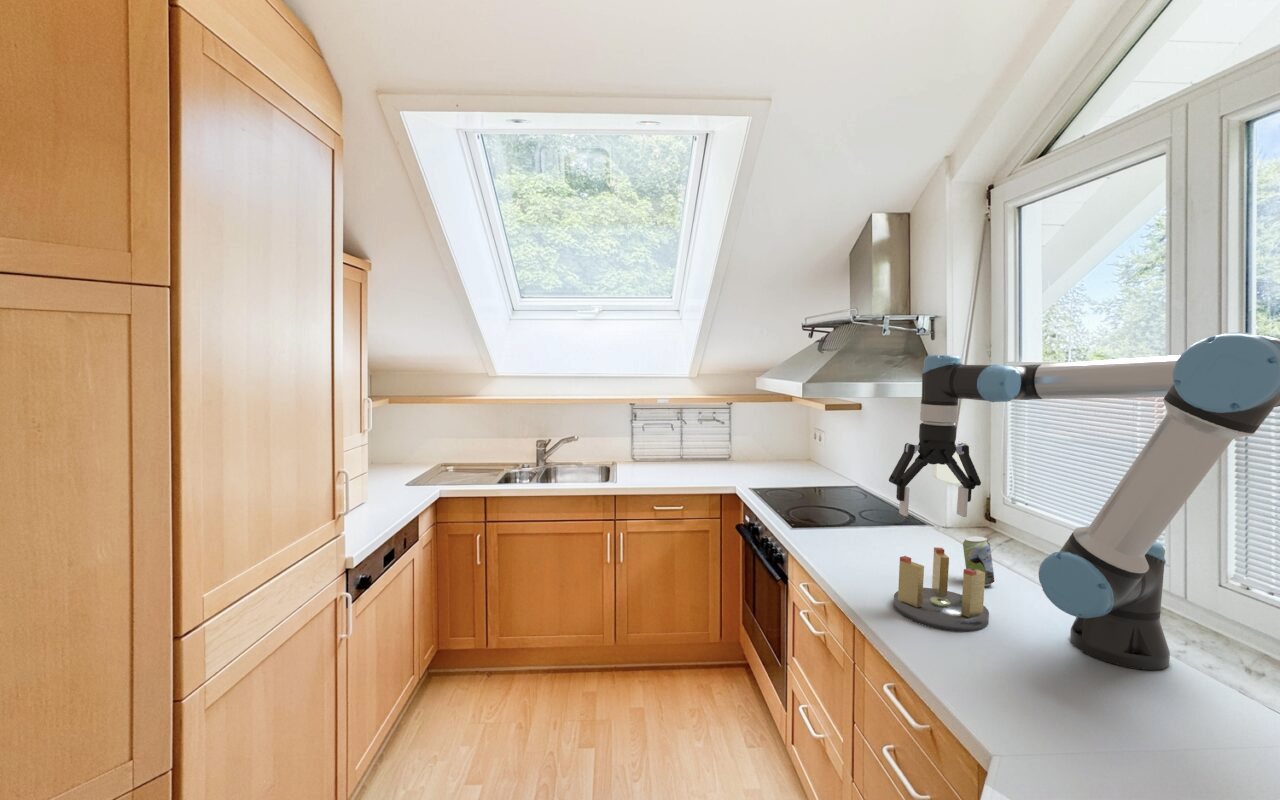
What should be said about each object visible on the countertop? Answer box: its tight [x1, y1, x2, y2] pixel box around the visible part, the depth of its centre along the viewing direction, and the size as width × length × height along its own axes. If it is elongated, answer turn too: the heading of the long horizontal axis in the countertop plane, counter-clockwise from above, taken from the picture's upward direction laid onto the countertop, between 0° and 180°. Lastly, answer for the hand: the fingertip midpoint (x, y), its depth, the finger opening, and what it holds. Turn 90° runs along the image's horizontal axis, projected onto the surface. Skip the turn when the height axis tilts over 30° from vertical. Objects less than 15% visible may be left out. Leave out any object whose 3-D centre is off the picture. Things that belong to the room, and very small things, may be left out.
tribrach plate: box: [893, 587, 990, 633], centre depth 132 cm, size 19×19×3 cm
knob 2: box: [931, 547, 950, 596], centre depth 138 cm, size 5×2×10 cm, turn 171°
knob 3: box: [961, 568, 985, 618], centre depth 126 cm, size 5×2×10 cm, turn 119°
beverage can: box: [962, 535, 995, 587], centre depth 150 cm, size 6×7×12 cm
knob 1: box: [897, 555, 925, 607], centre depth 132 cm, size 5×2×10 cm, turn 29°
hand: (932, 515), depth 136 cm, fingers open, 13 cm apart
